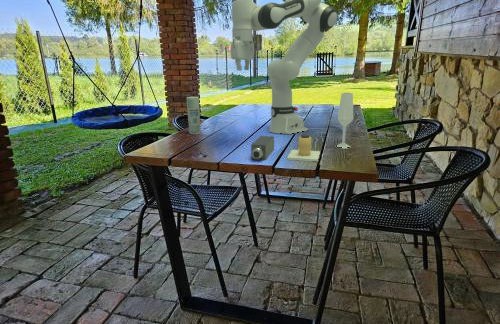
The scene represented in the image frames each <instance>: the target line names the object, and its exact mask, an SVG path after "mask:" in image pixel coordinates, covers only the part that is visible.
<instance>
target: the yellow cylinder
mask: <svg viewBox="0 0 500 324" xmlns="http://www.w3.org/2000/svg"><path fill="white" fill-rule="evenodd" d="M297 148H298V149H297V150H298V155H300V156H309V155H311V151H312V136H310V134H306V133H305V134H301V135H300V136H298V147H297Z"/></svg>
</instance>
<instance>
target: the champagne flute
mask: <svg viewBox="0 0 500 324" xmlns="http://www.w3.org/2000/svg"><path fill="white" fill-rule="evenodd" d="M353 120H354V93H353V92H341V94H340V100H339V107H338V113H337V121H338V122H339V123H340V124H341V125H342V137H341V138H342V140H341V142H340V143H338V144H336V145H337V147H342V148H341V149H348V148H347V147H350V148H351V145H349V144H347V143H346V132H347V126H348V125H350V124H351V123H352V122H353ZM337 147H336V148H337Z"/></svg>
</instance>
